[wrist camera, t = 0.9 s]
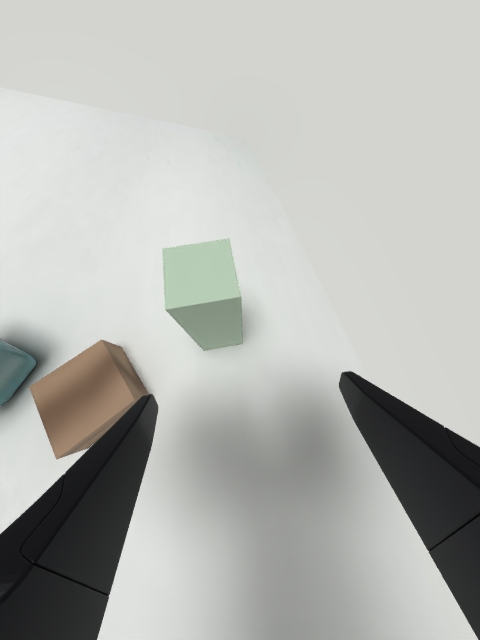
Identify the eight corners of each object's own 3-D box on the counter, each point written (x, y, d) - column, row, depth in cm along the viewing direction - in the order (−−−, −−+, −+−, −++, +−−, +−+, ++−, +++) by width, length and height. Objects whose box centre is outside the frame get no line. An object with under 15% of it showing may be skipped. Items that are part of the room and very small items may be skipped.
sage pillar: (242, 343, 25) (241, 296, 13) (203, 350, 24) (165, 309, 12) (235, 309, 27) (229, 238, 14) (199, 315, 26) (162, 248, 14)
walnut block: (152, 398, 23) (134, 400, 19) (89, 447, 21) (56, 459, 17) (122, 347, 25) (101, 339, 21) (63, 387, 23) (29, 386, 20)
